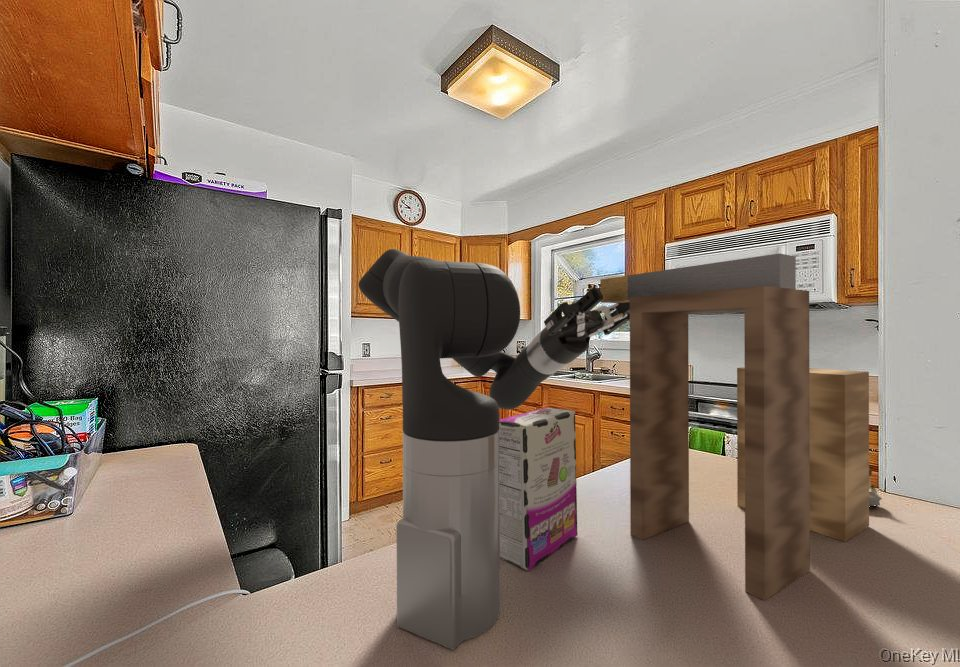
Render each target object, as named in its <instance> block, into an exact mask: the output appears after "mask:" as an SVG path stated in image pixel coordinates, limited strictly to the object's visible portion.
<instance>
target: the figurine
mask: <svg viewBox="0 0 960 667" xmlns="http://www.w3.org/2000/svg"><path fill="white" fill-rule="evenodd" d="M872 476H873V470H872V469H871V468H869V490H870V491H869V506H874V505H877V506H881V503H880V502H881V500H882V499H883V498H882V497H881V496H880V495H879V494H878V490H877V489H876V487H875V485H874V484H872V482H871V478H872Z"/></svg>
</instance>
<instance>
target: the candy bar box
mask: <svg viewBox="0 0 960 667" xmlns="http://www.w3.org/2000/svg"><path fill="white" fill-rule="evenodd" d="M576 442H577V440H576V411H574V410H570V409H564V408H557V407H555V408H554V407H544V408H543V407H542V408H539V409H534V410H531V411H527V412H524V413H519V414H516V415H511V416H508V417H505V418H499V458H500V460H499V495H500V560H503V561H505V562H507V563H509V564H511V565H514V566H517V567H518V568H520V569H523V570H525V571H531V570H532V569H533V568H535V567H537V566H538V565H539V564H540V563H542V562H543V561H544V560H546V559H547V558H549V557H551V555H553V554H555V552H557V551H558V550H560V549H561V548H562V547H564V546H565V545H566V544H568V543H570V542H571V540H573V539H575V538H576V537H577V536H578V535H579V534H578V533H579V532H578V502H577V500H578V497H577V495H578V494H577V492H578V491H577V489H578V488H577V448H576V445H577V444H576Z"/></svg>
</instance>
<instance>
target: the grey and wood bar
mask: <svg viewBox="0 0 960 667" xmlns="http://www.w3.org/2000/svg"><path fill="white" fill-rule="evenodd" d="M796 266H797V265H796V256H795V255H790V254H784V253H773V254H768V255H767V254H766V255H760V256H754V257H753V256H752V257H746V258H745V257H744V258H737V259H731V260H725V261H718V262H712V263H711V262H710V263H704V264H696V265H690V266H685V267H684V266H683V267H675V268H671V269H663V270H656V271H655V270H654V271H650V272H649V271H648V272H642V273H633V274H627V275H622V276H621V275H620V276H616V277H615V276H614V277H608V278H601V279H600V291H601V293H602V295H603V300H602V301H601V302H600V303H602V304H603V303H604V304H616V303H626V302H630V298H633V297H644V296H655V295H667V294H678V293H689V292H701V291H712V290H723V289H734V288H746V287H757V286H769V287H779V288H788V289H797V288H796V285H797V283H796V281H797V280H796V278H797V277H796V275H797V274H796V273H797V272H796V268H797V267H796Z"/></svg>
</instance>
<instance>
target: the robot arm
mask: <svg viewBox="0 0 960 667" xmlns="http://www.w3.org/2000/svg"><path fill="white" fill-rule="evenodd" d="M358 288H359V290H360V292H361V293H362V295H364V296H365V297H366V299H368V300H369V301H370V302H371V303H372V304H373V305H374V306H376V307H377V308H378V309H379V310H381V311H383V312H384V313H386V315H388V316H389V317H391V318H392V319H394V320H396V321H397V322H398V324H399V325H398V326H399V340H400V355H401V356H400V357H401V358H400V359H401V387H402V389H401V391H402V392H401V393H402V394H401V395H402V403H401V404H402V518H401V519H399V520H398V521H397V522H396V626H397V627H398V628H401V629H402V630H405V631H408V632H410V633H412V634H414V635H417V636H419V637H422V638H424V639H426V640H429V641H431V642H434V643H436V644H439V645H441V646H443V647H445V648H447V649H449V650H455V649H456V648H458V646H459V645H460V644H461V643H462V642H464V641H466V640H470V639H473V638H475V637H477V636H479V635H482V634H484V633H485V632H487V631H488V630H489V629H490V628H491V627H493V625H494V624H495V623H496V622H497V620H498V618H499V615H500V613H501V563H500V562H501V558H500V495H499V460H500V458H499V420H500V409H501V410H514V409H516V408H517V409H518V408H519V407H520V406H522V405H524V403H525V402H526V401H527V400H528V398H530V397H531V395H532V394H533V393H534V392H535V390H537V387H538V386H540V384H542V382H544V381H545V380H547V379H548V378H549V377H551V376H552V375H553V374H554V373H557V372H559V371H560V370H562V369H564V368H565V367H567V365H569V364H571V363H572V362H573V361H574V360H576V359H577V358H578V357H580V356H581V355H582V354H584V353H585V352H586V351H587V350H588V348H589V346H590V339H591V337H593V336H597V335H598V334H599V333H600V332H603V333H604V336H608V335H610V334H612V333H614V331H616V330H618V328H620V327H622V326H623V325H625V324H626V323H627V322H630V302H626V303H613V304H612V305H609V306H606V305H602V306H600V307H598V308H596V309H594V308H595V307H596V306H597V305H598V304H600V303H601V301H602V300H603V295H602V293H601V288H600V287H597V286H593V287H592V288H591V289H590V290H588V291H587V292H586V293H585V294H584V295H583V296H581V297H580V299H579V298H578V299H576V300H574V301H572V302H571V303H569V302H567V301H564V302H562V303H561V304H559V305H558V306H557V307H556V309H554V310H553V311H552V313H550V315H549V316H548V317H547V318H546V319H545V320H544V328H543V329H541V331H540V332H538V333H537V334H536V335H535V337H534V338H533V339H532V340H531V341H530V343H528V344H527V346H526V347H524V348H523V349H522V350H521V351H519V353H518V354H517V355H516V356H515V357H514V356H513V355H510V354H508V353H506V352H504V349H506V348H507V347H508V346H509V345H510V344H511V343H512V341H514V338H515V337H516V334H517V332H518V329H519V326H520V325H519V324H520V321H521V304H520V299H519V294H518V292H517V290H516V287H515V285H514V283H513V281H512V280H511V278H510V277H509V276H508V275H507V273H505V272H504V271H503V270H502V269H501V268H499V267H497V266H496V265H493V264H492V265H491V264H488V263H481V262H467V261H466V262H465V261H449V260H437V259H433V258H430V257H426V256H418V255H410V254H408V253H406V252H404V251H402V250H399V249H395V248H390V249H387V250H386V251H384V252H383V253H382V254H381V255H380V256H379V257H378V258H377V259H376V260H375V261H374V263H373V264H372V265H371V266H370V267H369V268H368V270H367V271H366V272H365V274H364V275H362V277H361V278H360V280H359V282H358ZM601 314H604V315H605V317H603V316H602V315H601ZM441 359H452V360H453V361H455V362H456V363H457V364H458V365H460V366H461V367H462V368H463V369H464V370H466V371H467V372H468V373H469V374H471V375H472V376H474V377H477V378H478V377H479V378H481V377H483V376H485V375H486V374H487V373H489V371H493V372H495V376H494V378H493V381H492V383H491V385H490V386H489V387H490V388H489V391H488V392H489V395H486V394H484V393H481V392H476V391H473V390H469V389H467V388H464V387H461V386H459V385H458V384H456V383H454V382H452V381H451V380H450V379H449V378H447V377H446V376H445V374H444V372H443V370H442V364H441Z"/></svg>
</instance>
